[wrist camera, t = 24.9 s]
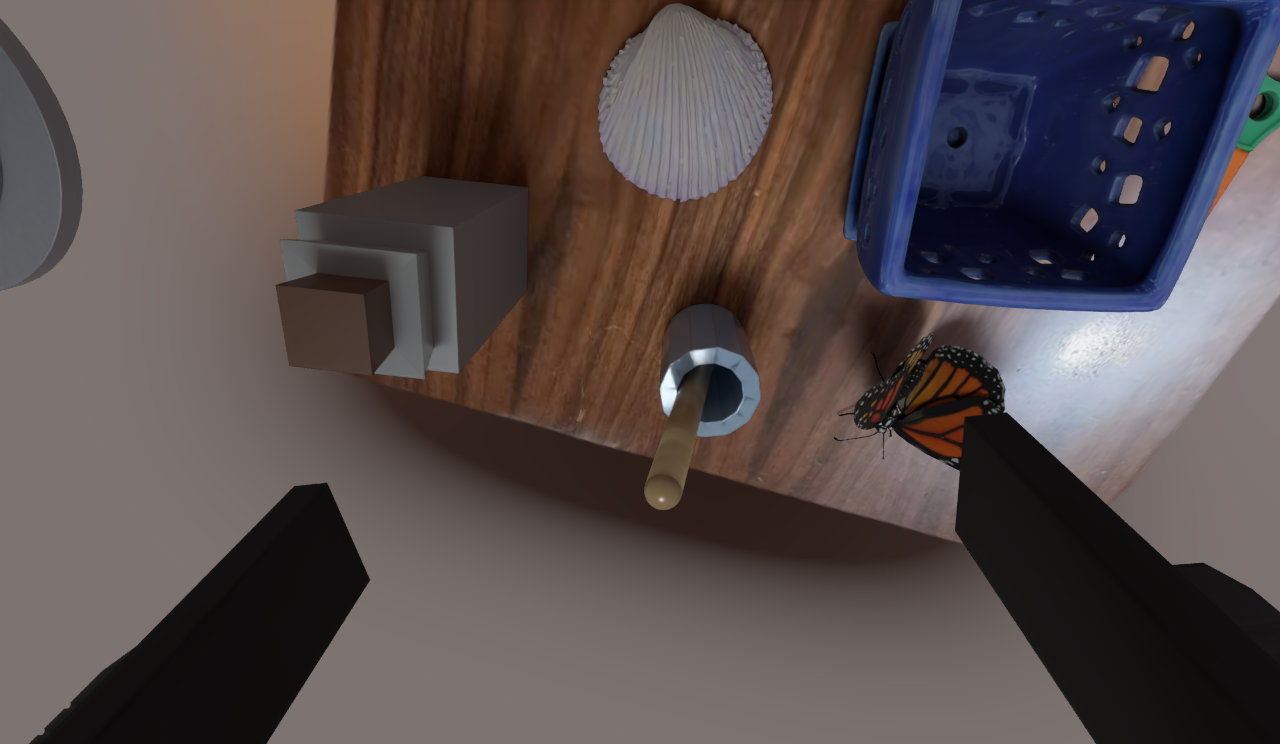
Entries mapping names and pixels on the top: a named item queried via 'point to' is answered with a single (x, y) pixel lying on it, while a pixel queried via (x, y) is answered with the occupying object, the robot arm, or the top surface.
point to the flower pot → (1049, 146)
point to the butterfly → (932, 399)
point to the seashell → (685, 104)
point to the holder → (734, 376)
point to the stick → (678, 440)
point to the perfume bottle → (403, 276)
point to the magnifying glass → (1254, 132)
